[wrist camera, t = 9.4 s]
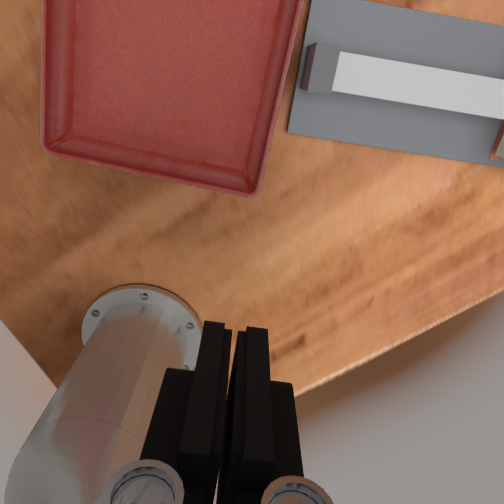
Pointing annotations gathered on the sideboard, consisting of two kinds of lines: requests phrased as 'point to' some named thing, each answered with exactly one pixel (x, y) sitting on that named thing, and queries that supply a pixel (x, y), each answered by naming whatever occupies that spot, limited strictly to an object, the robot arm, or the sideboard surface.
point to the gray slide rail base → (401, 81)
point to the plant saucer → (166, 86)
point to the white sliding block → (500, 148)
